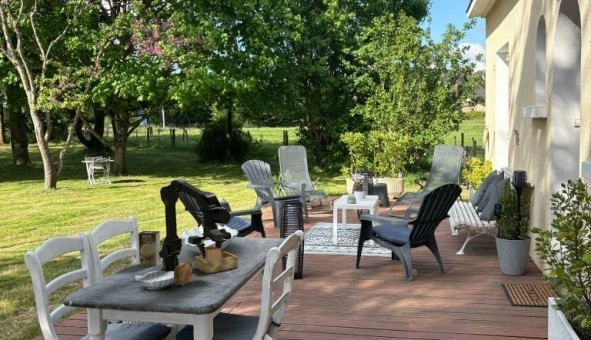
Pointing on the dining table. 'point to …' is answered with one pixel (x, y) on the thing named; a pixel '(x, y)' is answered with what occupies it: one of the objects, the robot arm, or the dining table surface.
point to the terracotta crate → (212, 254)
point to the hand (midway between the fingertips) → (210, 256)
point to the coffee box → (149, 248)
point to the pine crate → (217, 263)
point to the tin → (183, 273)
